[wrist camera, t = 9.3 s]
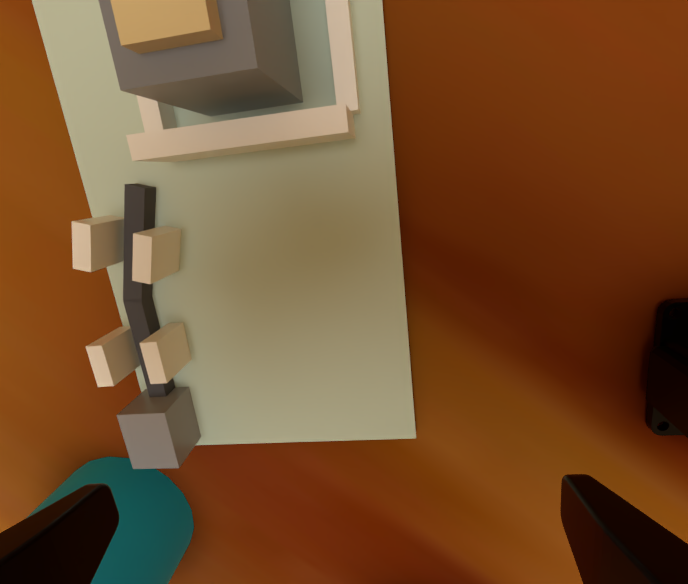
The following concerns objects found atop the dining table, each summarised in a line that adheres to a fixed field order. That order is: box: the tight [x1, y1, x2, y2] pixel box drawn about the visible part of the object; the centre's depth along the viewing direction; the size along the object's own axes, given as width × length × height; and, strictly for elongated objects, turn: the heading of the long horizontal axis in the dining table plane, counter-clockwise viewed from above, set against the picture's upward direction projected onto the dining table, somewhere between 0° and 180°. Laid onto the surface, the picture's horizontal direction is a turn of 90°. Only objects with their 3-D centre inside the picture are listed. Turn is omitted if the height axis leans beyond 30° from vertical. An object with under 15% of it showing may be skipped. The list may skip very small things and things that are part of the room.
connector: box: [98, 0, 303, 116], centre depth 13 cm, size 4×4×7 cm
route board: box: [32, 0, 416, 445], centre depth 19 cm, size 14×23×1 cm, turn 7°
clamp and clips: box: [72, 215, 201, 469], centre depth 19 cm, size 4×12×2 cm, turn 7°
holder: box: [126, 0, 361, 162], centre depth 15 cm, size 9×7×3 cm
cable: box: [123, 183, 175, 397], centre depth 19 cm, size 2×10×1 cm, turn 7°
